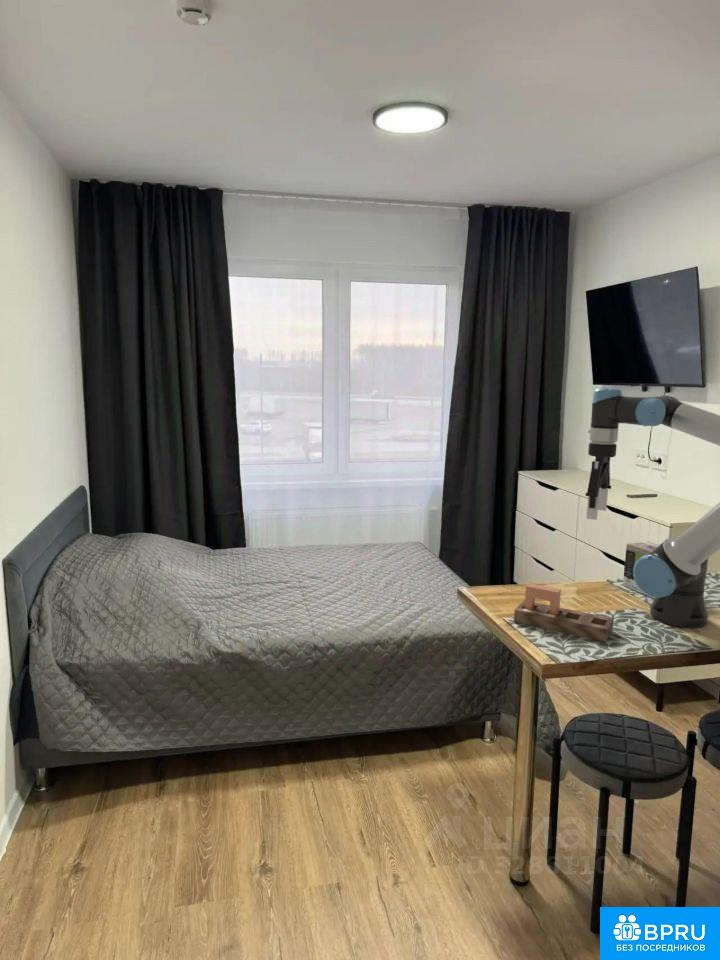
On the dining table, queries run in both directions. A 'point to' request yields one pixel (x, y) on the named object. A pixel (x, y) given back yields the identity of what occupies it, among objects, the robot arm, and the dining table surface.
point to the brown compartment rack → (566, 621)
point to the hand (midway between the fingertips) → (596, 514)
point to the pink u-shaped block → (543, 597)
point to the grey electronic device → (632, 555)
